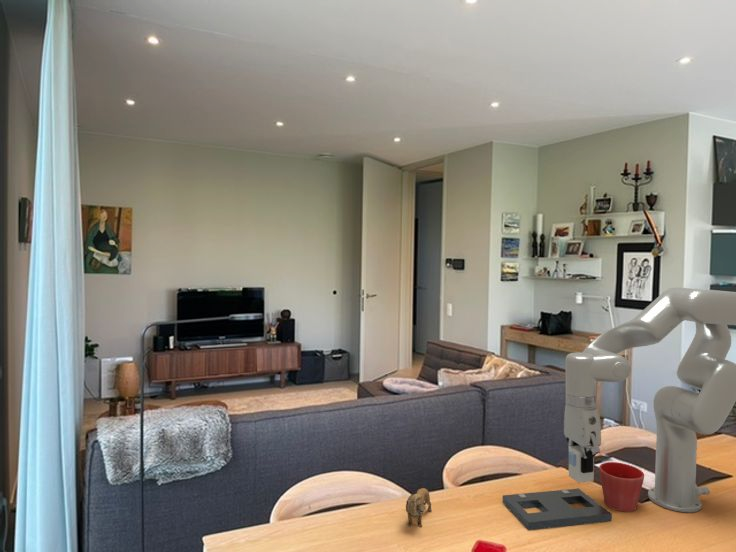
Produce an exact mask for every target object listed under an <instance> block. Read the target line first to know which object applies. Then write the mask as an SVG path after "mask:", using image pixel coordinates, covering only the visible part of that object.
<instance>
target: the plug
mask: <svg viewBox="0 0 736 552" xmlns="http://www.w3.org/2000/svg"><path fill="white" fill-rule="evenodd" d="M588 451H589V448H586V452H588ZM581 457H583V455H582V448H581V445H577V446H569V448H568V476H569V477H570V478H571V479H573V480H574V481H575V482H577V483H579V484H580V483H587V482H595V481H594V480H595V478H594V476H595V475H594V473H595V472H594V471H595V470H594V469H595V468H594V467H595V466H594V465H595V463H594V462H595V461H594V459H595V457H594V458H593V472H590V473H582V472H581Z"/></svg>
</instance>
